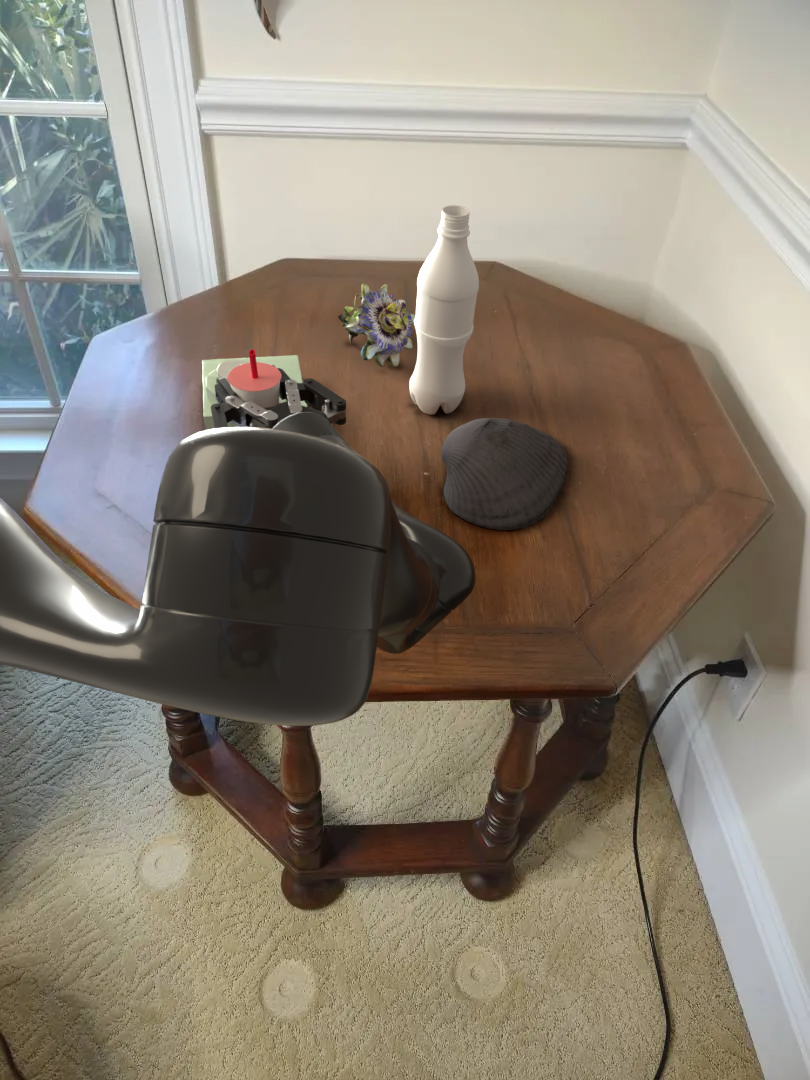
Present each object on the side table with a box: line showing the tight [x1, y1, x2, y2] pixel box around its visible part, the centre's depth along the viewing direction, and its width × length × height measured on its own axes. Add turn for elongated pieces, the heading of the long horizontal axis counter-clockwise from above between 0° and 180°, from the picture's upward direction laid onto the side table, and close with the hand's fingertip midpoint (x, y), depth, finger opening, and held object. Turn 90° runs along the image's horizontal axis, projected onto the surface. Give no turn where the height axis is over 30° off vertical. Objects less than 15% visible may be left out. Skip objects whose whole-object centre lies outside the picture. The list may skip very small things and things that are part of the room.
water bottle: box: [408, 204, 480, 415], centre depth 91 cm, size 7×7×25 cm
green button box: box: [201, 354, 308, 430], centre depth 94 cm, size 12×12×6 cm
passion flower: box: [338, 283, 416, 368], centre depth 105 cm, size 11×11×12 cm
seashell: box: [440, 417, 569, 531], centre depth 88 cm, size 14×19×8 cm
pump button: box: [217, 360, 248, 386], centre depth 90 cm, size 4×4×2 cm
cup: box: [228, 348, 281, 408], centre depth 80 cm, size 5×5×12 cm
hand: (245, 379), depth 81 cm, fingers closed on cup, 5 cm apart
